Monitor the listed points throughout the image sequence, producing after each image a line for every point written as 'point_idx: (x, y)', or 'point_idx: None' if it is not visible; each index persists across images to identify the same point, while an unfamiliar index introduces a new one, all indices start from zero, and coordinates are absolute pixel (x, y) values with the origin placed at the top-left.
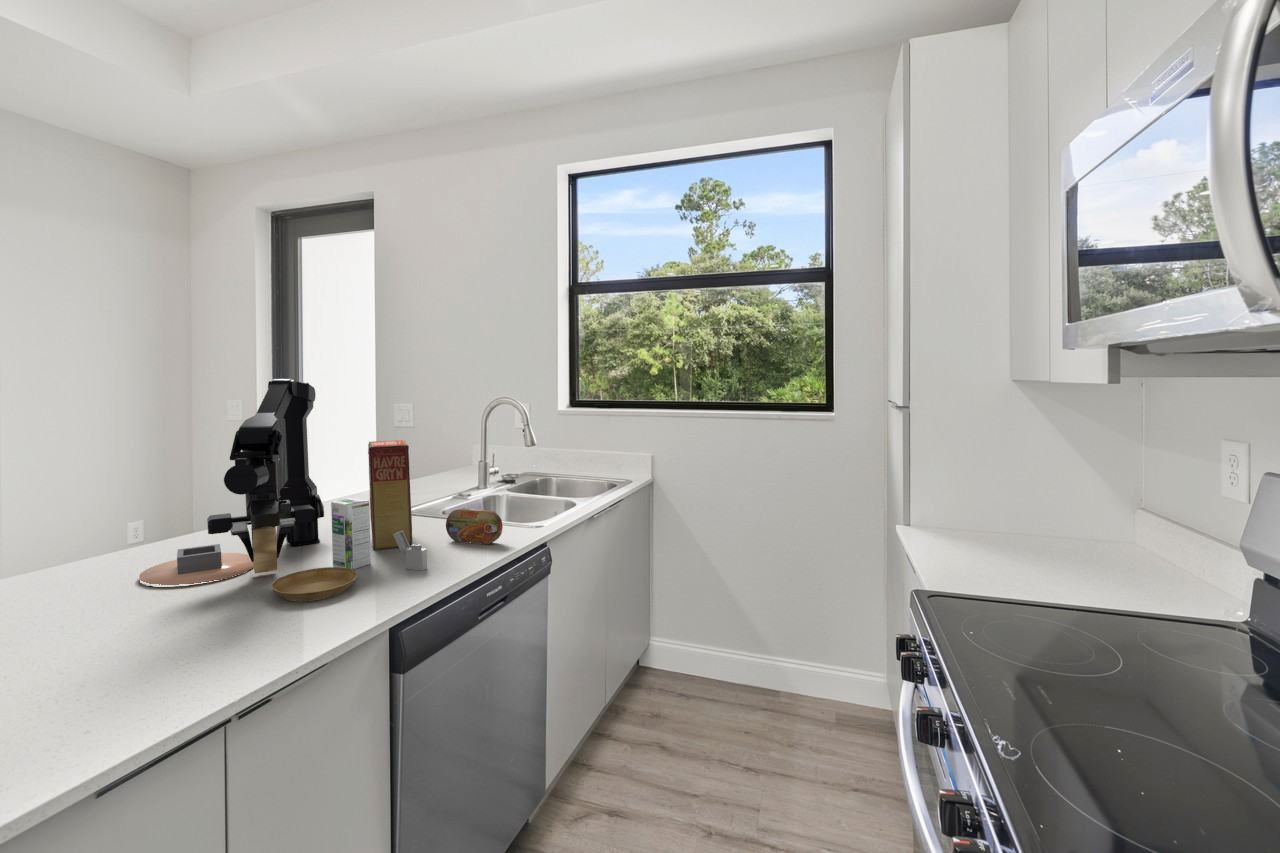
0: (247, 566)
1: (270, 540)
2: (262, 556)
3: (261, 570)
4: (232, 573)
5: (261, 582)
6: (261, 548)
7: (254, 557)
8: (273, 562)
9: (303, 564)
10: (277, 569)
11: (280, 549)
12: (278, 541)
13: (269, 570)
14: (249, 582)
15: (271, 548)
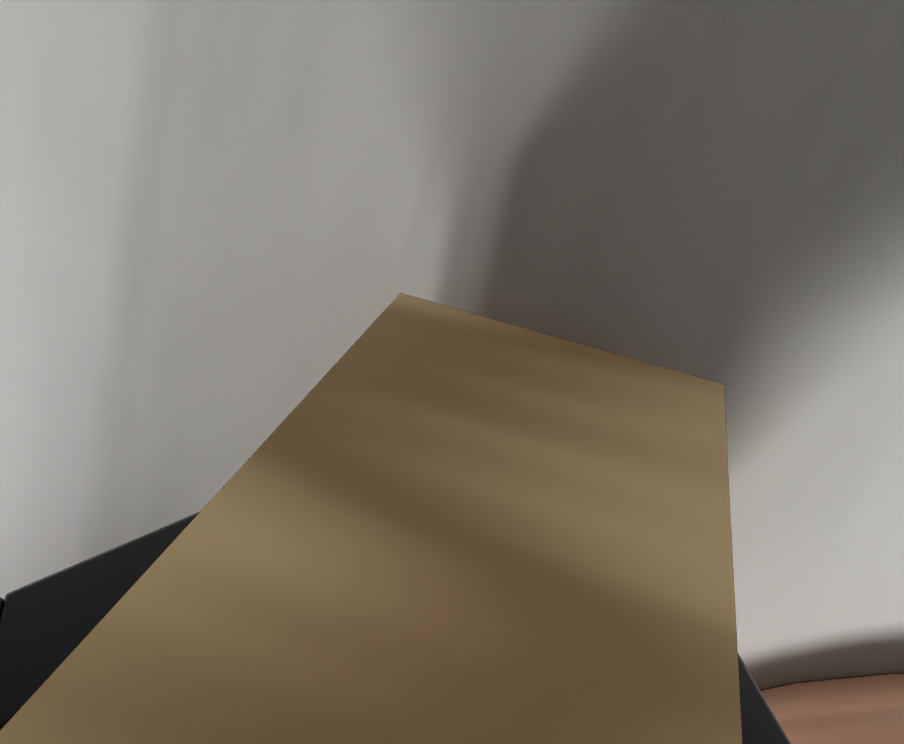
0: None
1: (215, 738)
2: (562, 503)
3: (622, 371)
4: (868, 718)
5: (707, 150)
6: (541, 649)
7: (725, 557)
8: (409, 368)
9: (91, 489)
10: (399, 297)
11: (165, 529)
12: (61, 663)
13: (511, 326)
14: (827, 298)
15: (317, 547)
